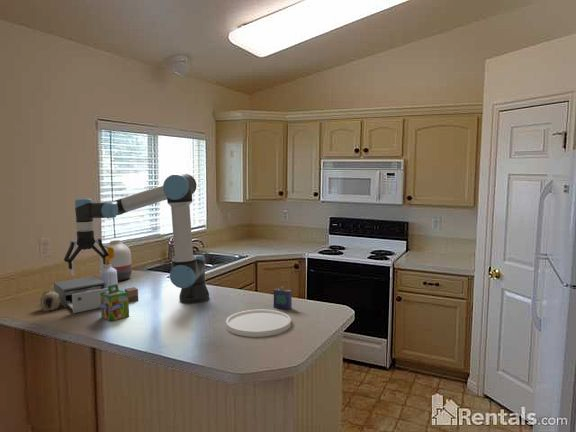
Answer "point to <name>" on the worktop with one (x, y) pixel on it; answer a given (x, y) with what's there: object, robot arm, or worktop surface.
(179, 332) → the worktop surface
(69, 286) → the housing
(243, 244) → the worktop surface
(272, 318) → the plate
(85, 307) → the grey drawer
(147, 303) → the worktop surface
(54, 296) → the garlic bulb
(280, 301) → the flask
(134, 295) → the block
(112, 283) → the soap bottle
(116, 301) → the chalk box
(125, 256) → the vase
